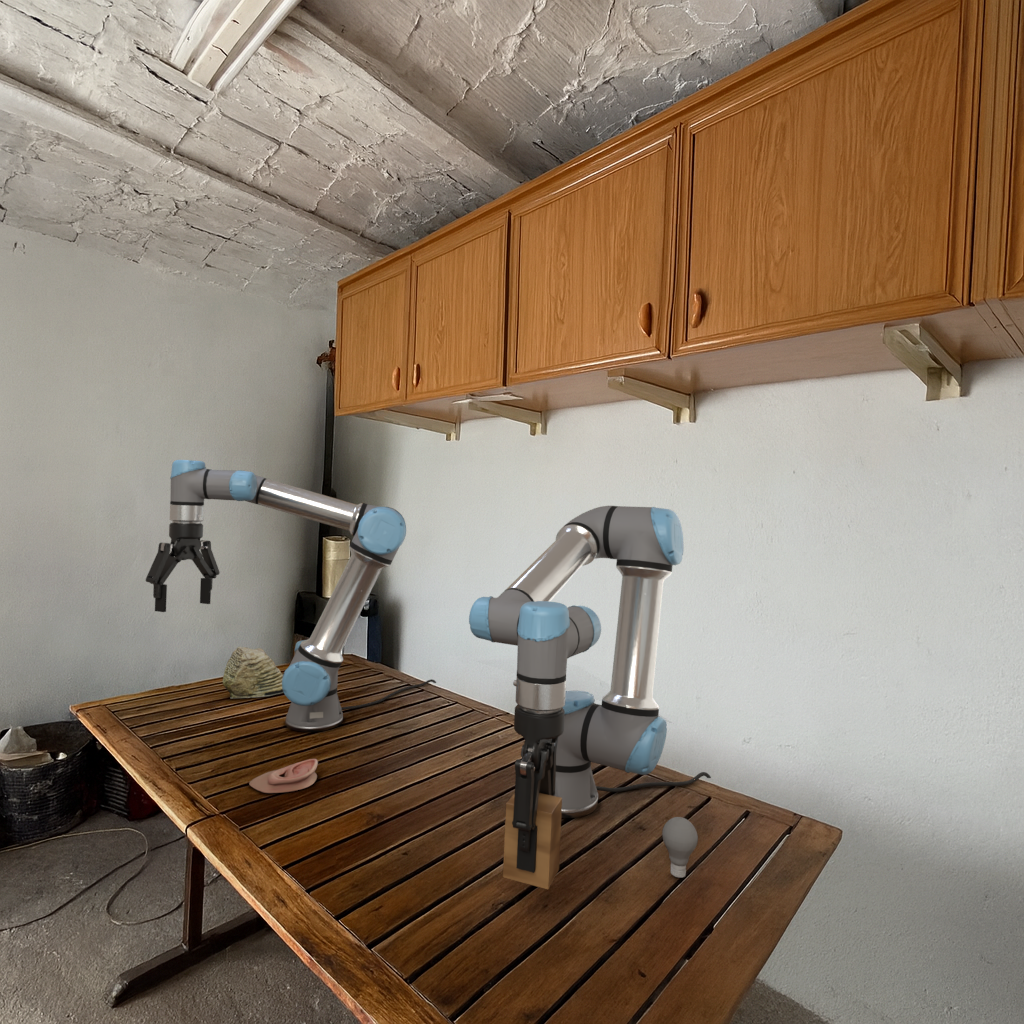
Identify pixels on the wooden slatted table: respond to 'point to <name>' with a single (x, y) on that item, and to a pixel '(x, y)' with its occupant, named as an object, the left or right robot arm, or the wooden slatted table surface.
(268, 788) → the anatomical model
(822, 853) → the wooden slatted table surface
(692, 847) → the light bulb
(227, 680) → the fossil
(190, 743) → the wooden slatted table surface
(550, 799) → the block
